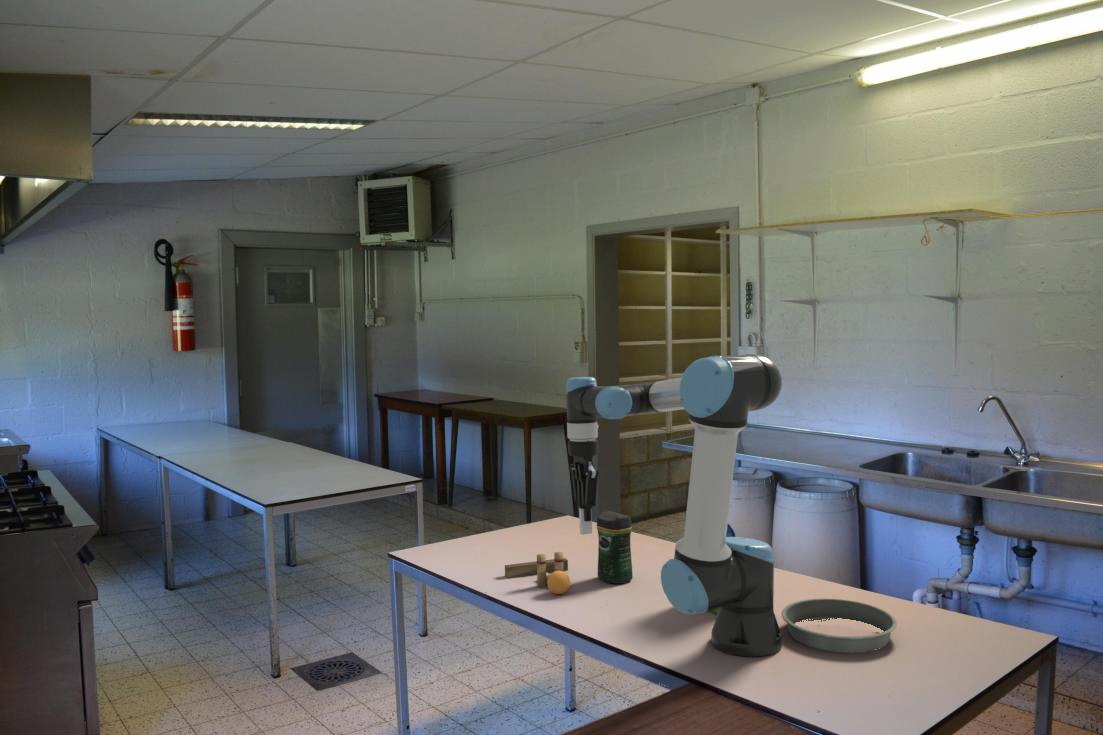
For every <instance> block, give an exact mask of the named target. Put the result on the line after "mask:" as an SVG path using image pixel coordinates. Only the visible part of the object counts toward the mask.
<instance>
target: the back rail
mask: <svg viewBox="0 0 1103 735" xmlns="http://www.w3.org/2000/svg"><path fill="white" fill-rule="evenodd" d="M563 560H564V561H563V570H564V572H566V571H569V562H568V561H569V560H568V559H567V558H565V557H563ZM554 571H555V562H554V559H546V572H548V573H549V574H551V573H553V572H554ZM534 575H535V576H537V560H536V561H529V562H518V563H511V564H505V565H504V576H505V578H507V579H510V578H519V577H528V576H534Z"/></svg>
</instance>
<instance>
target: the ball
mask: <svg viewBox="0 0 1103 735" xmlns="http://www.w3.org/2000/svg"><path fill="white" fill-rule="evenodd" d="M549 574H550V575H549V577H548V580H547V583H546V586H547V588H548V589H549V590H550V592H551V593H552V594H556V595H562V594H565V593H567V591H568V590H569V589H570V586H571V580H570V576H569V575H568V574H567V572H566V571H564V572H563V571H554V572H552V573H549Z"/></svg>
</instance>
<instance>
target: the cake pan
mask: <svg viewBox="0 0 1103 735" xmlns="http://www.w3.org/2000/svg"><path fill="white" fill-rule="evenodd" d="M781 616H782V619H783V620H784V622H785V623H787V628H788V631H789V634H790V633H791V634H790V635H791V636H793V637H794V639H795V640H796V639H797V640H796V641H798V642H799V641H800V642H799V643H801V642H802V644H803V643H804V645H806V646H808V645H809V646H808V647H811V646H812V648H814V647H815V649H818V650H822V649H823V651H827V650H828V652H833V651H836V652H835V653H842V652H862V653H868V652H867V651H870V652H873V651H872V650H875V649H878V650H880V649H879V648H881V649H883V648H884V646H885V645H886V644H887V643H889V642H890V637H891V634H892V632H894V631H895V630H896V628H897V625H898V623H897V619H896V617H894V616H893V614H891V613H890V612H888V611H886V610H884V609H882V608H880V607H877V606H875V605H872V604H867V603H866V602H865V603H864V602H860V601H855V600H848V599H842V598H825V597H824V598H810V599H809V598H808V599H803V600H799V601H798V600H797V601H794V602H792V603H790V604H788V605H786V606H784V608H783V609H782V610H781ZM828 618H829V619H828ZM830 618H832V619H833V618H834V619H837V618H842V619H850V620H856V621H861V622H864V623H867V624H871V625H873V626H875V627H877V628H880V629H881V630H883V631H884V632H882V633H876V634H870V635H869V634H868V635H859V636H858V635H857V636H856V635H855V636H854V635H853V636H847V635H836V634H835V635H834V634H828V633H827V634H826V633H821V632H817V631H812V630H810V629H808V628H805V627H799V626H797V625H795V623H796V622H800V621H801V622H802V620H806V619H808V621H814V620H821V622H822V619H826V620H827V619H828V620H830ZM809 619H811V620H809ZM812 619H813V620H812ZM826 620H823V621H826ZM806 621H807V620H806ZM803 622H804V621H803ZM818 622H819V621H818ZM793 637H792V638H793ZM887 645H888V644H887ZM887 645H886V646H887ZM886 646H885V647H886ZM882 647H883V648H882ZM875 651H876V650H875Z"/></svg>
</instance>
